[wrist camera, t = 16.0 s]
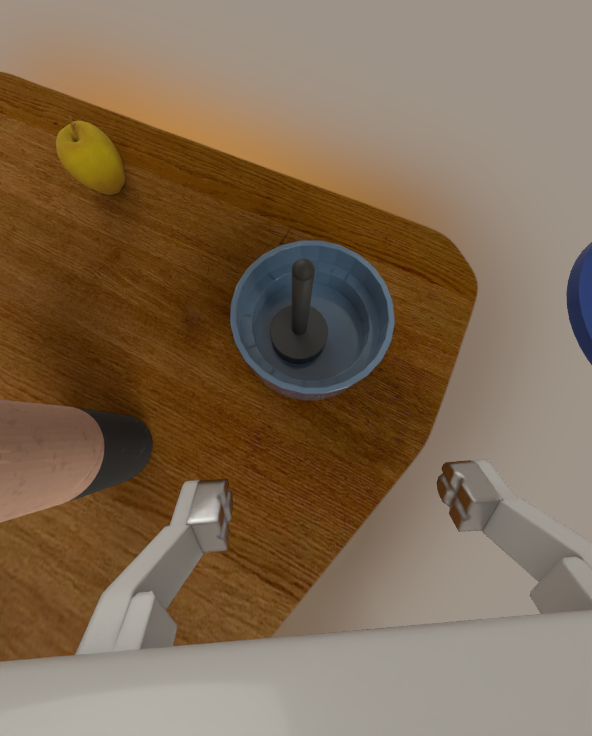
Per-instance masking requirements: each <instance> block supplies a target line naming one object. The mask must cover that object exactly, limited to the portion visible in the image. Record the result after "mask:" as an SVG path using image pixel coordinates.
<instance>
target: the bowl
mask: <svg viewBox="0 0 592 736" xmlns="http://www.w3.org/2000/svg"><path fill="white" fill-rule="evenodd" d="M301 258H306V259H309V260H310V261H311V262H312V263H313V264H314V267H315V274H314V281H313V288H312V295H311V302H310V306H311V307H313V308H315V309H316V310H318V311H319V312H320V313H321V314H322V315H323V317H324V318H325V320H326V323H327V326H328V337H327V341H326V343H325V346H324V348H323V351H322V352H321V353H320V355H319V356H318V357H317V358H315V359H314V360H312V361H310V362H308V363H304V364H294V363H290V362H287V361H285V360H284V359H282V358H281V357H280V356H279V355H278V354H277V353H276V352H275V350H274V348H273V345H272V341H271V336H270V326H271V323H272V320H273V318H274V317H275V315H276V314H277V313H278V312H279V311H280V310H281V309H283V308H285V307H287V306H289V305H292V266H293V264H294V263H295V261H297V260H298V259H301ZM394 321H395V320H394V310H393V302H392V299H391V296H390V293H389V291H388V288H387V286H386V283H385V282H384V280H383V279H382V278H381V276H380V275H379V273H378V272H377V271H376V269H375V268H374V267H373V266H372V265H371V264H370V263H369V262H367V261H366V260H365V259H364V258H362V257H361V256H360V255H359V254H357V253H355V252H353V251H351V250H349V249H347V248H345V247H343V246H341V245H338V244H334V243H329V242H325V241H297V242H293V243H289V244H284V245H281V246H279V247H277V248H275V249H273V250H271V251H269V252H267V253H265V254H263V255H262V256H261V257H260V258H258V259H257V260H256V261H255V262H254V263H253V264H252V265H250V266H249V267H248V268H247V270H246V271H245V273H244V274H243V276H242V277H241V279H240V280H239V282H238V283H237V286H236V289H235V292H234V295H233V298H232V301H231V313H230V325H231V329H232V333H233V337H234V341H235V344H236V346H237V347H238V349H239V351H240V353H241V354H242V356H243V358H244V360H245V361H246V363H247V364H248V366H249V367H250V369H251V370H252V372H253V373H254V375H256V376H257V377H258V378H259V379H260V380H261V381H262V382H263V383H264V384H265V385H266V386H267V387H269V388H270V389H272V390H274V391H276V392H277V393H279V394H281V395H283V396H287V397H291V398H295V399H298V400H322V399H326V398H329V397H333V396H336V395H339V394H341V393H343V392H344V391H346V390H347V389H349V388H351V387H352V386H354V385H355V384H357V383H358V382H359V381H361V380H362V379H363V378H365V377H366V376H367V375H368V374H369V373H370V372H371V371H372V370H373V369H374V368H375V367H376V366H377V365H378V364H379V362H380V361H381V360H382V358H383V356H384V355H385V353H386V351H387V349H388V347H389V345H390V343H391V339H392V334H393V328H394V323H395V322H394Z"/></svg>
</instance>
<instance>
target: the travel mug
mask: <svg viewBox="0 0 592 736" xmlns="http://www.w3.org/2000/svg"><path fill="white" fill-rule="evenodd" d="M151 452H152V438H151V434H150V432H149V430H148V428H147V427H146V426H145V424H144V423H142V422H141V421H140V420H138V419H136V418H134V417H131V416H126V415H120V414H114V413H108V412H101V411H95V410H88V409H82V408H75V407H68V406H58V405H48V404H38V403H28V402H18V401H8V400H0V522H3V521H7V520H10V519H13V518H17V517H20V516H23V515H27V514H30V513H33V512H37V511H40V510H43V509H46V508H50V507H53V506H56V505H60V504H63V503H66V502H69V501H71V500H74V499H77V498H80V497H83V496H85V495H88V494H91V493H94V492H97V491H99V490H102V489H105V488H108V487H111V486H113V485H116V484H119V483H121V482H124V481H127V480H129V479H131V478H133V477H134V476H136V475H137V474H138V473H139V472H140V471H141V470H142V469H143V468H144V467H145V465H146V464H147V462H148V460H149V458H150V455H151Z"/></svg>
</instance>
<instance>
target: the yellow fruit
mask: <svg viewBox="0 0 592 736" xmlns="http://www.w3.org/2000/svg"><path fill="white" fill-rule="evenodd" d="M69 120H70V124H69V125H67V126H66V127H65V128H63V129H62V130H61V131H60V132H59V133H58V136H57V139H56V148H57V154H58V157H59V159H60V161H61V163H62V164H63V166H64V167H65V168H66V170H67V171H68V172H69V173H70V174H71V175H72V176H73V177H74V178H75V179H76V180H78V181H79V182H80V183H82V184H83V185H85V186H87V187H88V188H91V189H93V190H95V191H98V192H100V193H103V194H106V195H114V194H116V193H119V192H120V191H121V189H122V187H123V186H124V184H125V181H126V177H125V171H124V166H123V162H122V159H121V157H120V155H119V153H118V151H117V150H116V148H115V146H114V145H113V143H112V142H111V140H110V139H109V138H108V137H107V136H106V134H104V133H103V132H102V131H101V130H100V129H98V128H97V127H95V126H94V125H92V124H90V123H87V122H83V121H74V122H72V117H71V116H70V115H69Z"/></svg>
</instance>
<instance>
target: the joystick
mask: <svg viewBox="0 0 592 736" xmlns="http://www.w3.org/2000/svg"><path fill="white" fill-rule="evenodd" d="M314 274H315V267H314V264H313V263H312V262H311V261H310V260H309V259H306V258H301V259H298V260H297V261H295V263H294V264H293V266H292V305H289V306H287V307H285V308H283V309H281V310H280V311H279V312H278V313H277V314H276V315H275V317H274V318H273V320H272V323H271V326H270V336H271V341H272V345H273V348H274V350H275V352H276V353H277V354H278V355H279V356H280V357H281V358H282V359H284V360H285V361H287V362H290V363H294V364H304V363H308V362H310V361H312V360H314V359H315V358H317V357H318V356H319V355H320V353H321V352H322V351H323V348H324V346H325V343H326V341H327V337H328V326H327V323H326V320H325V318H324V317H323V315H322V314H321V313H320V312H319V311H318V310H316V309H315V308H313V307H311V306H310V302H311V295H312V288H313V281H314Z"/></svg>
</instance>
